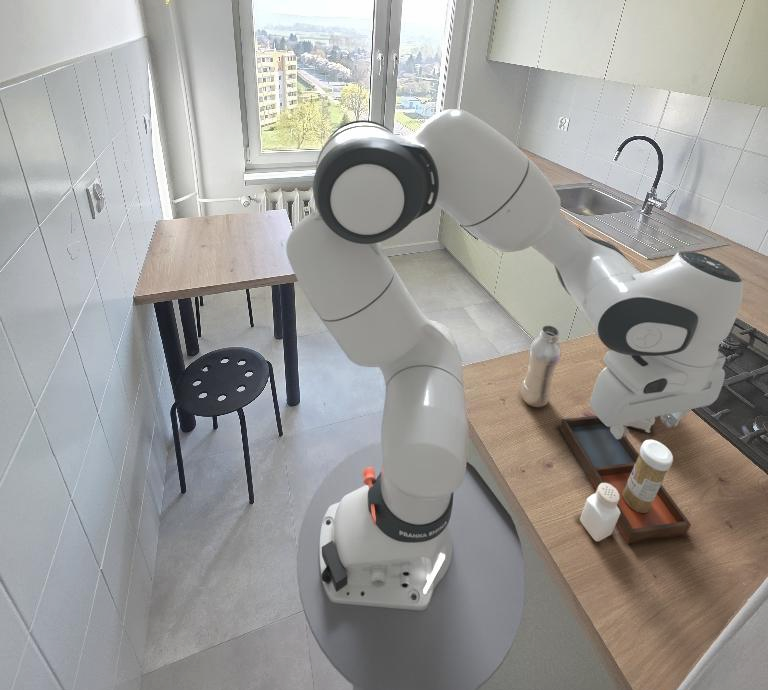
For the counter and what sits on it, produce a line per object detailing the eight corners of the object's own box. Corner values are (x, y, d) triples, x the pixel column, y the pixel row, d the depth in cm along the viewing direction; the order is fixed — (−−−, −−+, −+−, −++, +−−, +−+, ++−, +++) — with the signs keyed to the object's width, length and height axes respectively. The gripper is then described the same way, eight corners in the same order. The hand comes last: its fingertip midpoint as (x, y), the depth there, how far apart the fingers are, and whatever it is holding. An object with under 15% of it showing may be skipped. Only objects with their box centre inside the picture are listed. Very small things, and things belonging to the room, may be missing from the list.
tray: (627, 543, 70) (632, 533, 69) (559, 428, 90) (562, 419, 89) (685, 535, 72) (691, 524, 70) (605, 424, 91) (609, 414, 90)
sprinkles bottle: (619, 485, 78) (639, 435, 73) (646, 492, 77) (669, 442, 72) (624, 509, 74) (646, 458, 69) (653, 518, 73) (677, 467, 68)
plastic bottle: (513, 398, 97) (528, 329, 89) (528, 383, 101) (544, 317, 93) (538, 416, 93) (557, 346, 85) (553, 400, 97) (572, 331, 89)
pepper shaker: (595, 544, 70) (610, 508, 66) (577, 520, 73) (590, 484, 69) (613, 534, 71) (628, 499, 67) (594, 511, 74) (607, 476, 71)
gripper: (708, 335, 64) (679, 401, 69) (595, 354, 59) (573, 423, 65) (750, 365, 58) (714, 434, 64) (629, 388, 54) (602, 461, 59)
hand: (643, 428), depth 64 cm, fingers open, 8 cm apart
